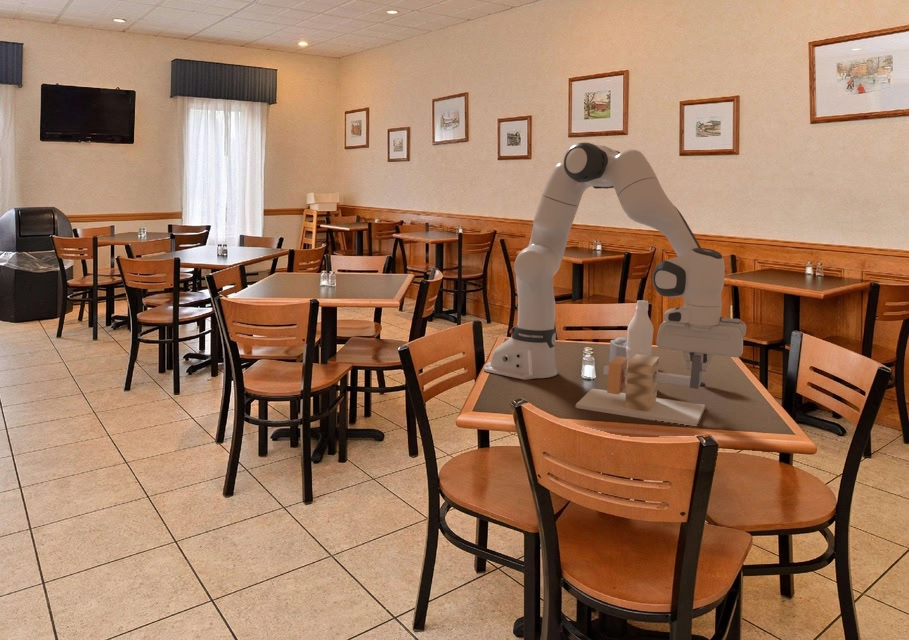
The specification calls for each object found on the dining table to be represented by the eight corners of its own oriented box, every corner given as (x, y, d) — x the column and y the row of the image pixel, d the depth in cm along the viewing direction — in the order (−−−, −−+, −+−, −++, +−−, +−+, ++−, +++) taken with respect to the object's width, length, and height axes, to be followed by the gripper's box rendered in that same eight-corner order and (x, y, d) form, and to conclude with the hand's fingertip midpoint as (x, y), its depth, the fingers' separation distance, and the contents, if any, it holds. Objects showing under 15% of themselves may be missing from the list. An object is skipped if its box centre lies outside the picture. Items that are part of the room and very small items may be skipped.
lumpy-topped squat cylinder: (635, 360, 234) (637, 334, 232) (652, 370, 221) (654, 343, 219) (605, 360, 232) (607, 335, 231) (620, 371, 220) (622, 344, 218)
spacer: (607, 393, 183) (609, 363, 182) (614, 385, 190) (616, 356, 189) (618, 394, 182) (620, 364, 181) (625, 386, 189) (627, 357, 188)
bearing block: (624, 408, 181) (628, 362, 179) (633, 397, 190) (636, 354, 187) (648, 411, 178) (652, 365, 176) (656, 401, 187) (659, 357, 185)
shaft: (601, 375, 185) (603, 345, 183) (606, 371, 189) (608, 341, 188) (698, 388, 175) (701, 357, 173) (700, 383, 179) (703, 353, 177)
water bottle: (641, 392, 198) (648, 304, 193) (618, 386, 203) (624, 300, 198) (653, 386, 204) (660, 301, 199) (631, 381, 208) (636, 297, 203)
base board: (575, 407, 184) (575, 404, 183) (591, 391, 198) (592, 388, 198) (696, 427, 171) (697, 423, 171) (704, 408, 185) (705, 404, 185)
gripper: (748, 317, 172) (742, 372, 175) (661, 309, 181) (657, 361, 183) (746, 322, 167) (740, 378, 169) (657, 313, 175) (653, 367, 178)
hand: (696, 369), depth 176 cm, fingers closed on shaft, 2 cm apart
